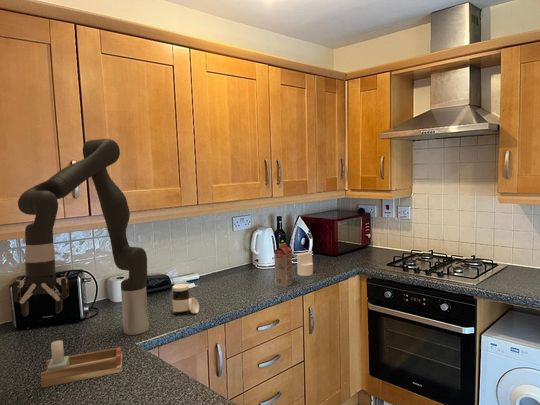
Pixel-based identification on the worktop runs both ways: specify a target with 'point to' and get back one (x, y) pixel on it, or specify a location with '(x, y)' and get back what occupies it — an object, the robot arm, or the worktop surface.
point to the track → (84, 367)
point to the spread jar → (183, 300)
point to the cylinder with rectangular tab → (304, 264)
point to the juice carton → (283, 265)
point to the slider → (58, 356)
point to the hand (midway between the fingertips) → (42, 314)
